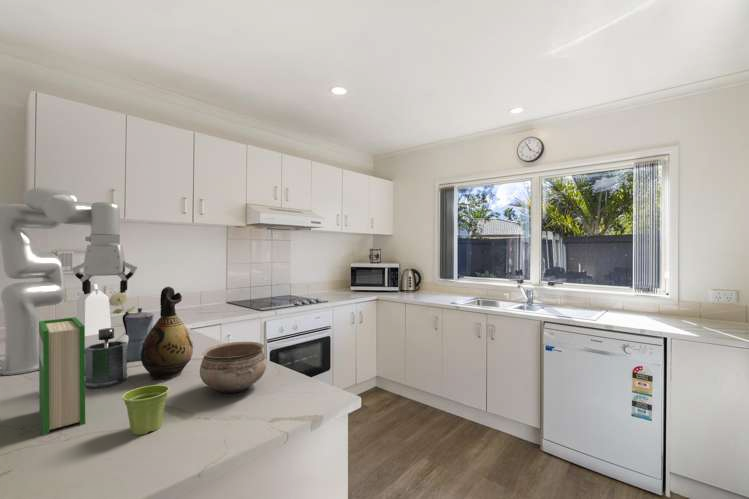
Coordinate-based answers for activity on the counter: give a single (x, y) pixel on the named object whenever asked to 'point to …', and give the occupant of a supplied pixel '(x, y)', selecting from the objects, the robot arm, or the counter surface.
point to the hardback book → (61, 373)
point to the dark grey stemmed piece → (106, 335)
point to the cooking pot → (233, 366)
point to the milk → (94, 311)
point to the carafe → (105, 365)
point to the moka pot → (137, 332)
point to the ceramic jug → (167, 341)
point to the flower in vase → (116, 301)
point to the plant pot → (145, 407)
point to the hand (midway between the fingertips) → (105, 293)
